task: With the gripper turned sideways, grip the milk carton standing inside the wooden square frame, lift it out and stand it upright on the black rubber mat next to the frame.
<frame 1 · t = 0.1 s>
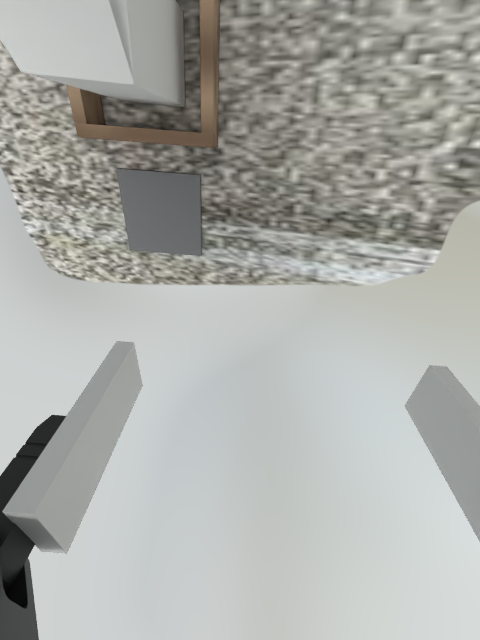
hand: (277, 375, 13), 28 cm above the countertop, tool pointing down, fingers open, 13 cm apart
wooden square frame: (149, 59, 28), on the countertop
rubber mat: (163, 214, 36), on the countertop
milk carton: (150, 60, 28), resting in wooden square frame
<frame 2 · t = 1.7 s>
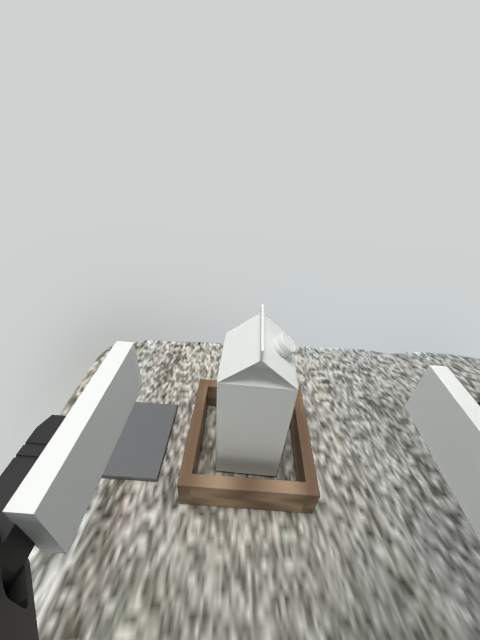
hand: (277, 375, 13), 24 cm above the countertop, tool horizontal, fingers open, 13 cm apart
wooden square frame: (247, 446, 35), on the countertop
rubber mat: (129, 437, 35), on the countertop
milk carton: (247, 447, 35), resting in wooden square frame
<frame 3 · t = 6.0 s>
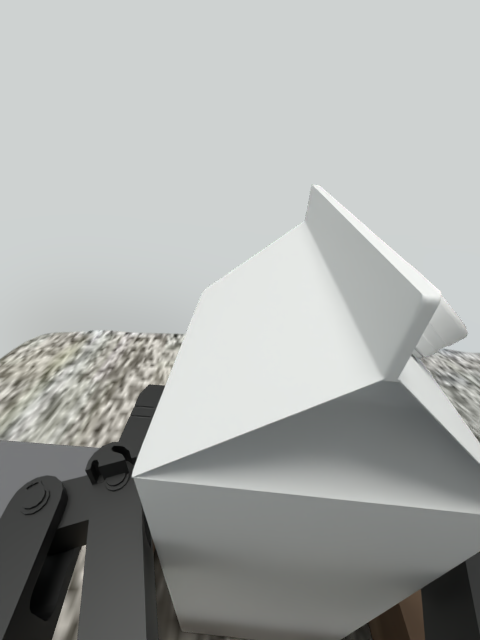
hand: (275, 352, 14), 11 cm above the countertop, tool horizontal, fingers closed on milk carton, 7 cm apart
wooden square frame: (254, 549, 16), on the countertop
rubber mat: (1, 529, 16), on the countertop
milk carton: (254, 550, 16), resting in wooden square frame, touching gripper
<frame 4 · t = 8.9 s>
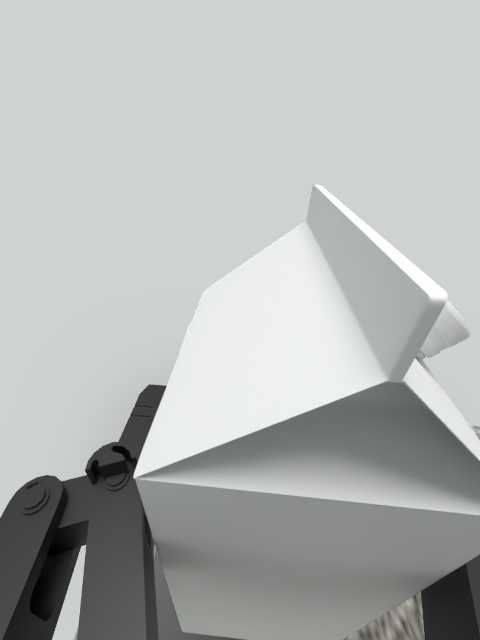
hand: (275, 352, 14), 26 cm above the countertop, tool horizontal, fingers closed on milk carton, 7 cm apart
rubber mat: (202, 595, 25), on the countertop
milk carton: (255, 550, 16), point 15 cm above the countertop, touching gripper
when the fingers open (13 cm above the countertop, at t = 11.9 s): milk carton drops 1 cm, resting on rubber mat.
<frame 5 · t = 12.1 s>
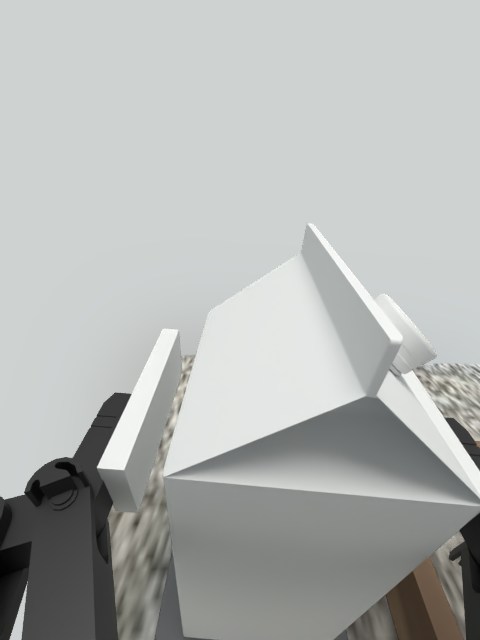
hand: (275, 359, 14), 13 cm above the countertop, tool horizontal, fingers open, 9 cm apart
rubber mat: (252, 560, 17), on the countertop
milk carton: (252, 557, 17), point 1 cm above the countertop, touching rubber mat
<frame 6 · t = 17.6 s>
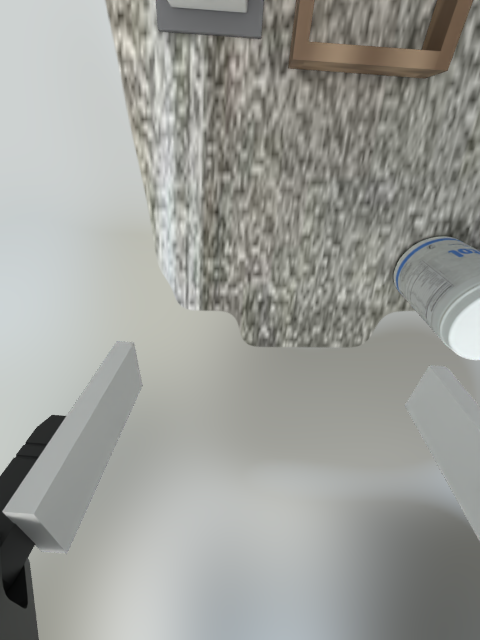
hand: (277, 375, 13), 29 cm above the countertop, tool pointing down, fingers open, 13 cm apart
supplement tub: (425, 266, 39), on the countertop
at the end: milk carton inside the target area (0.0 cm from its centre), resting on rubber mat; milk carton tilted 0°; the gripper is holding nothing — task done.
